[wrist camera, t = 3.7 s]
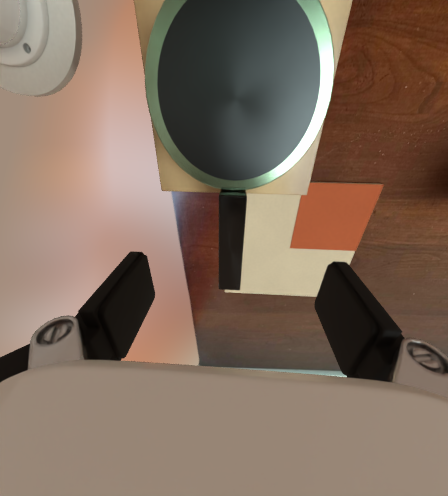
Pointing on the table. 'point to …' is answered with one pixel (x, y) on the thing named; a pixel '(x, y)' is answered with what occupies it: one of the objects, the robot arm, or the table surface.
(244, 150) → the pan
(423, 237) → the table surface
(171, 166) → the block
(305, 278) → the mat
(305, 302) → the table surface
